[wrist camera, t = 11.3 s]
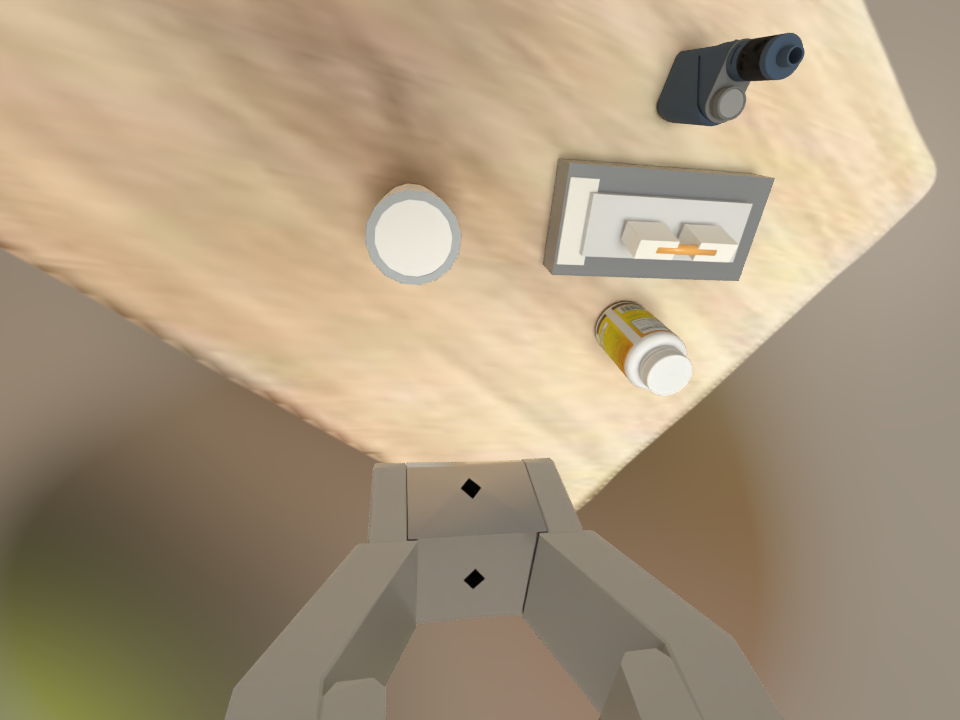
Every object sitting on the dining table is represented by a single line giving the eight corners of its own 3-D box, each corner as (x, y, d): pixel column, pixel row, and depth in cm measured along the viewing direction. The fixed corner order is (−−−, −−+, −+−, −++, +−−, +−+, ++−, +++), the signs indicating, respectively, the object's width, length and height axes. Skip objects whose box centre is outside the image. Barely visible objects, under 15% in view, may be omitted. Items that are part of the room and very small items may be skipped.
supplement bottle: (610, 359, 50) (655, 415, 41) (583, 322, 47) (625, 374, 38) (655, 327, 49) (712, 378, 40) (631, 288, 46) (685, 333, 37)
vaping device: (707, 55, 37) (825, 39, 27) (676, 126, 40) (774, 136, 29) (680, 43, 37) (790, 21, 26) (649, 116, 39) (740, 122, 29)
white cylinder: (448, 172, 39) (458, 186, 33) (455, 254, 42) (464, 281, 36) (363, 178, 38) (356, 193, 32) (376, 261, 41) (373, 290, 35)
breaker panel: (558, 158, 39) (574, 164, 36) (751, 173, 42) (783, 180, 39) (543, 264, 44) (555, 278, 40) (719, 270, 47) (745, 284, 43)
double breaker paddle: (627, 220, 38) (641, 240, 36) (720, 226, 39) (739, 245, 37) (621, 238, 39) (634, 259, 37) (711, 243, 40) (729, 263, 38)
